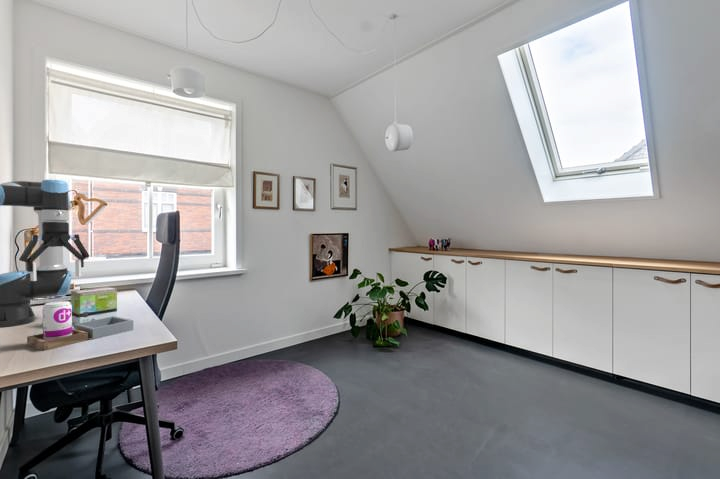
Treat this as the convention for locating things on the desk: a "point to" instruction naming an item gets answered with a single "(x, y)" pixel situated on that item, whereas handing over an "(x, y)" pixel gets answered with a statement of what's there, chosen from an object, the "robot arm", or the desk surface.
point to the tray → (105, 326)
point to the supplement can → (57, 320)
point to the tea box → (93, 304)
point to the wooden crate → (57, 340)
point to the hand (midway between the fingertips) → (57, 278)
